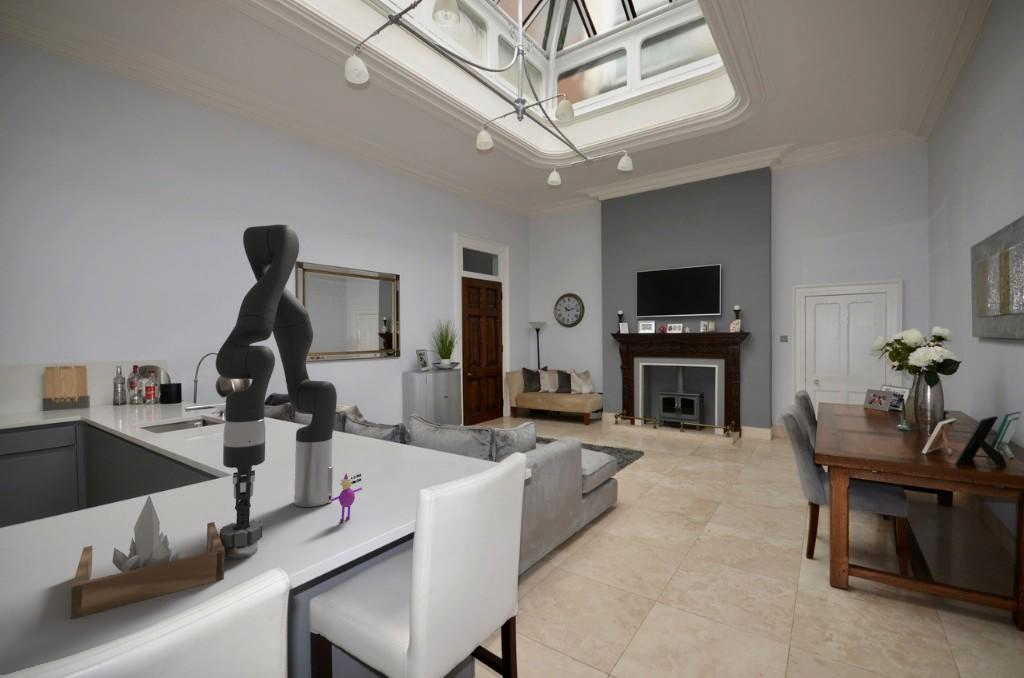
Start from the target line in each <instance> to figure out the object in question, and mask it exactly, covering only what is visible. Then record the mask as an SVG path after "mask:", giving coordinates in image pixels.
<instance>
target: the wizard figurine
mask: <svg viewBox="0 0 1024 678" xmlns="http://www.w3.org/2000/svg"><path fill="white" fill-rule="evenodd" d="M359 477H362V473H359V474H356V475H353V476H351V477H349V476H348V474H347V472H345V475H344V477H343V478H342V479H340V481H341V483H340V486H342V490H341V492H340V494H339V496H336V497H332V499H331V494H329V500H328V503H333V501H336V500H338V502H339V504H340V506H341V518H340V519H339V522H341V523H343V522H345V519H346V520H350V519H351V506H352V505H353V503H354V501H355V500H356V499H355V498H356V495H355V493H356V492H359V491H363V489H364V487H363V486H360V487H359V488H356V489H354V490H353V489H352V488H351V486H352V485H354V484H356V483H359V482H361V481H362V478H359ZM357 478H358V479H357ZM355 479H356V480H355ZM328 503H327V504H328ZM346 508H347V516H346V517H345V509H346Z"/></svg>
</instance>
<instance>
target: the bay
mask: <svg viewBox="0 0 1024 678" xmlns="http://www.w3.org/2000/svg"><path fill="white" fill-rule="evenodd" d="M206 525H207V526H206V527H207V529H206V548H207V549H206V550H207V552H206V553H205V552H204V553H201V554H197V555H193V556H188V557H184V558H179V560H174V561H170V562H166V563H161V564H157V565H153V566H148V567H144V568H140V569H135V570H131V571H126V572H119V573H115V574H110V575H106V576H101V577H97V578H92V579H91V577H92V573H93V545H89V546H84V547H83V549H82V552H81V555H80V559H79V562H78V565H77V569H76V572H75V575H74V578H73V581H72V585H71V593H70V595H71V598H70V600H71V601H70V620H73V619H76V618H80V617H84V616H88V615H91V614H95V613H100V612H103V611H107V610H111V609H115V608H117V607H118V608H119V607H121V606H126V605H130V604H134V603H137V602H142V601H144V600H149V599H152V598H156V597H160V596H164V595H167V594H171V593H175V592H179V591H183V590H187V589H190V588H193V587H198V586H201V585H205V584H209V583H213V582H217V581H221V580H224V578H225V558H224V556H225V551H224V546H222V543H221V540H220V533H219V532H218V529H217V526H216V524H215V522H214V521H212V522H208V523H207V524H206Z"/></svg>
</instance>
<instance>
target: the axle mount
mask: <svg viewBox="0 0 1024 678" xmlns="http://www.w3.org/2000/svg"><path fill="white" fill-rule="evenodd" d="M244 529H246V528H242V529H237V530H244ZM258 541H259V540H258ZM258 541H256V542H254V543H252V544H251V543H247V545H245V546H239V547H234V546H231V547H225V546H223V548H224V551H225V556H224V560H229V561H237V560H242V559H243V560H244V559H247V558H250V557H252V556H254V555H255V554H257V552H258V550H259V548H258V547H259V542H258Z"/></svg>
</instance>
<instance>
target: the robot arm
mask: <svg viewBox="0 0 1024 678" xmlns="http://www.w3.org/2000/svg"><path fill="white" fill-rule="evenodd" d="M242 234H243V236H242V242H243V248H244V252H245V255H246V258H247V260H248V263H249V265H250V268H251V271H252V272H253V275H254V278H255V280H256V283H254V285H253V286H252V287H251V288H249V290H248V292H247V293H246V294H245V296H244V297H243V299H242V302H241V305H240V307H239V312H238V314H237V315H238V316H237V317H236V318H237V319H236V323H235V326H234V327H233V328H232V330H231V332H230V333H229V335H228V337H227V338H226V339H225V341H224V343H223V344H222V345H221V347H220V349H219V350H218V352H217V354H216V358H215V369H216V371H217V373H218V375H219V376H220V377H222V378H224V379H227V380H251V383H250V385H249V386H248V387H247V388H244V389H239V390H234V391H231V392H229V393H228V394H227V395H226V398H225V418H224V419H225V422H224V429H223V442H222V443H223V445H222V446H223V453H222V465H223V466H224V467H225V468H229V469H236V470H237V471H236V472H233V475H232V485H233V498H234V500H235V506H234V510H235V511H236V522H235V523H236V528H237V529H242V528H247V527H248V526H249V521H250V515H251V514H250V513H251V508H252V504H251V498H252V497H253V495H254V483H255V481H256V479H255V478H256V470H255V469H253V467H254V466H258V465H261V464H263V463H264V462H265V461H266V421H265V405H266V404H265V403H266V402H265V400H266V394H267V391H268V388H269V384H270V380H271V378H272V375H273V372H274V369H275V365H276V357H275V354H274V352H273V350H272V349H271V348H270V347H269V346H265V345H253V344H255V343H259V342H264V341H267V340H268V339H270V337H271V335H272V334H273V337H274V340H275V343H276V347H277V350H278V352H279V357H280V360H281V364H282V365H281V366H282V368H283V373H284V377H285V385H286V389H287V395H288V400H289V404H290V405H291V408H292V410H293V411H295V413H299V414H304V415H311V421H310V423H309V424H307V425H305V426H302V427H300V428H298V429H297V430H296V431H295V453H294V454H295V456H294V457H295V458H294V462H295V463H294V464H295V465H294V494H293V496H294V500H293V502H294V503H293V504H294V505H295V506H297V507H300V508H312V507H319V506H323V505H326V504H328V500H329V494H331V499H333V483H334V482H333V478H334V476H333V474H334V473H333V471H334V469H333V461H332V460H333V433H334V429H335V425H336V416H337V415H336V413H337V403H338V402H337V400H338V399H337V398H338V395H337V389H336V387H335V385H334V384H333V383H332V382H331V381H326V380H325V381H324V380H311V379H310V376H309V374H308V369H307V358H308V354H309V353H310V349H311V347H312V344H313V340H314V331H313V326H312V323H311V318H310V314H309V312H308V310H307V308H306V307H305V306H304V305H303V302H301V300H299V299H298V298H297V297H296V296H295V295H294V294H293V293H292V292H291V291H290V290H289V289H288V288H287V287H286V285H287V284H288V282H289V279H290V278H291V274H292V273H293V269H294V267H295V265H296V262H297V260H298V257H299V252H300V241H299V240H300V239H299V238H298V235H297V232H296V230H294V228H293V227H292V226H290V225H289V224H270V225H258V226H257V225H256V226H249V227H247V228H246V229H245V230H244V231H243V233H242Z"/></svg>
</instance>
